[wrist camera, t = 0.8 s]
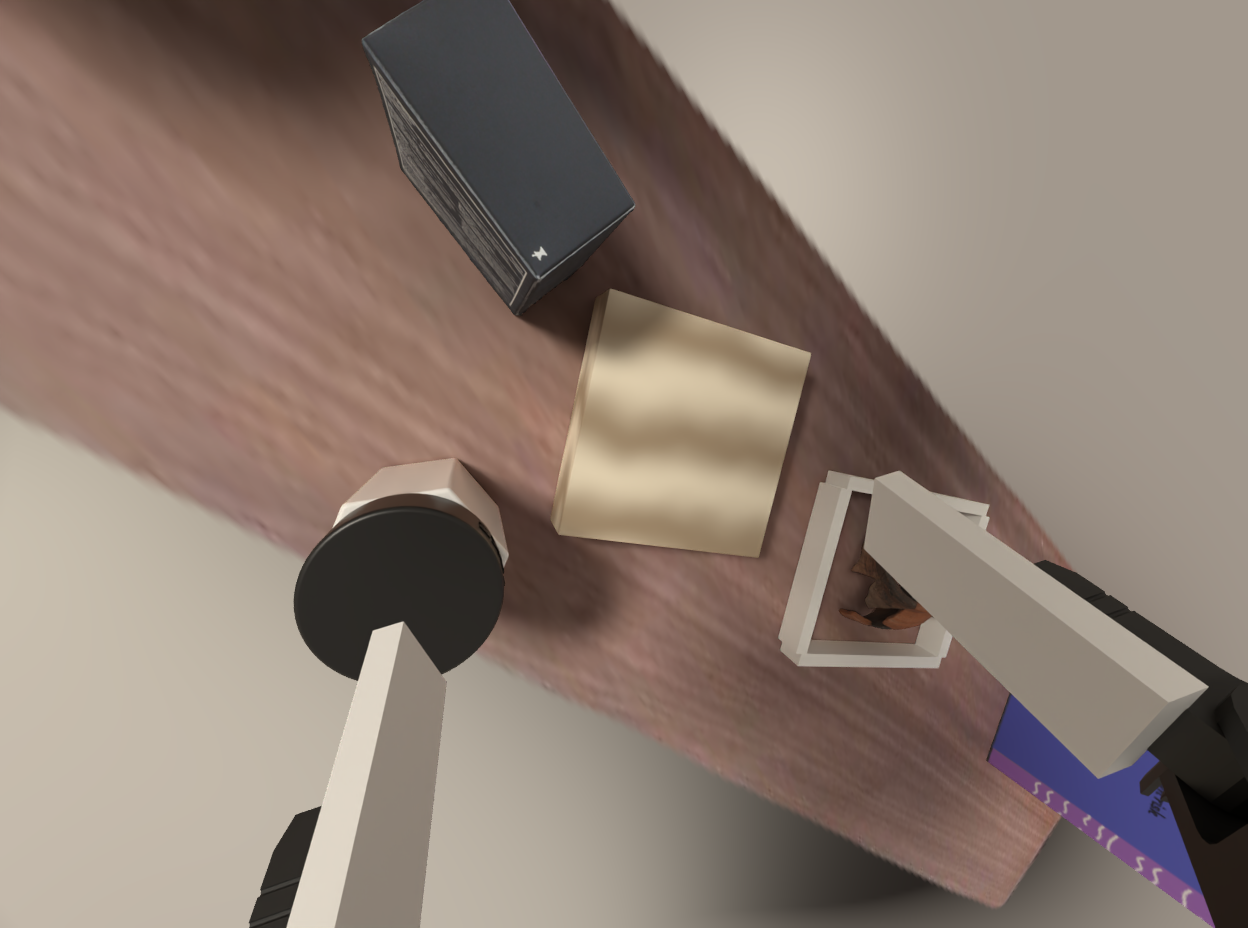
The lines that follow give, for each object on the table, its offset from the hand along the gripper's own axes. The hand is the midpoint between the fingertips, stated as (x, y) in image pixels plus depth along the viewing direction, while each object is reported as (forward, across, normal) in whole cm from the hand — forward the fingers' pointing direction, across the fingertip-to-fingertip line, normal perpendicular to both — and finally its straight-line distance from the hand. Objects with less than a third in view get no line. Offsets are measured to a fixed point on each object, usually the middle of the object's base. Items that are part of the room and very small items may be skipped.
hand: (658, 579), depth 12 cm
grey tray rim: (+17, +24, -28) cm, 40 cm away
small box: (+25, -2, +8) cm, 26 cm away
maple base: (+21, +6, -8) cm, 23 cm away
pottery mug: (+17, +24, -28) cm, 40 cm away
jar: (+18, -12, -8) cm, 23 cm away
